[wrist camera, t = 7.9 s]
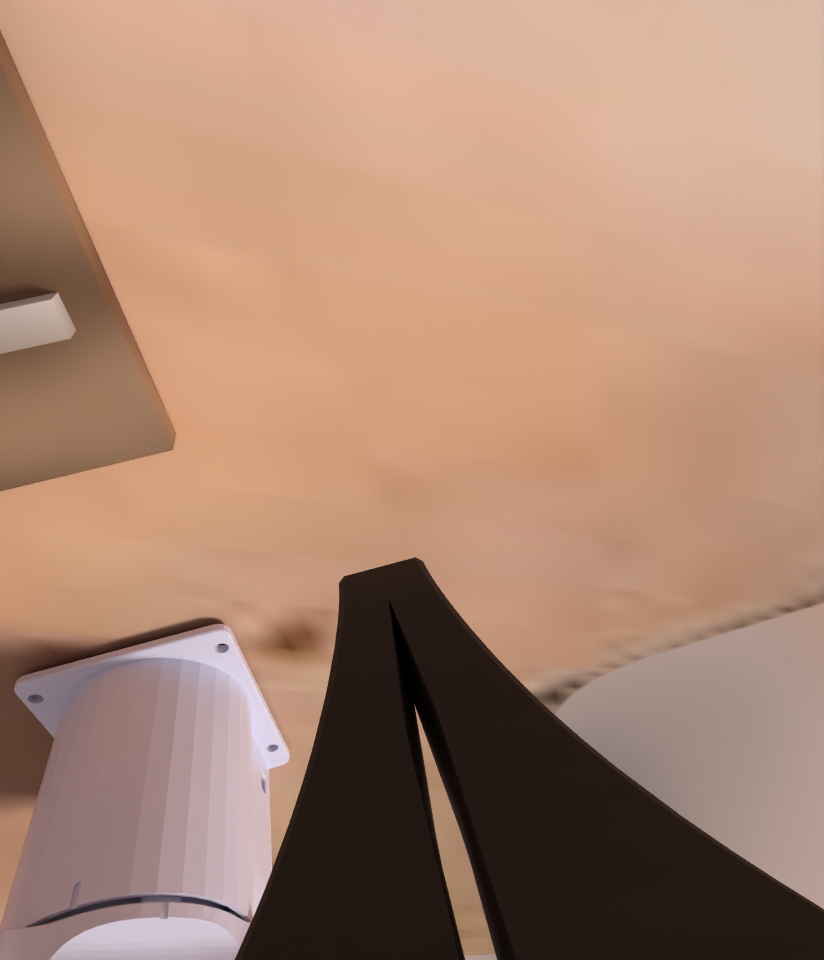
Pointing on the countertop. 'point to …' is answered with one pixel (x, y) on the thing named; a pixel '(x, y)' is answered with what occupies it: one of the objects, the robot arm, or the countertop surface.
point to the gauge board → (60, 322)
